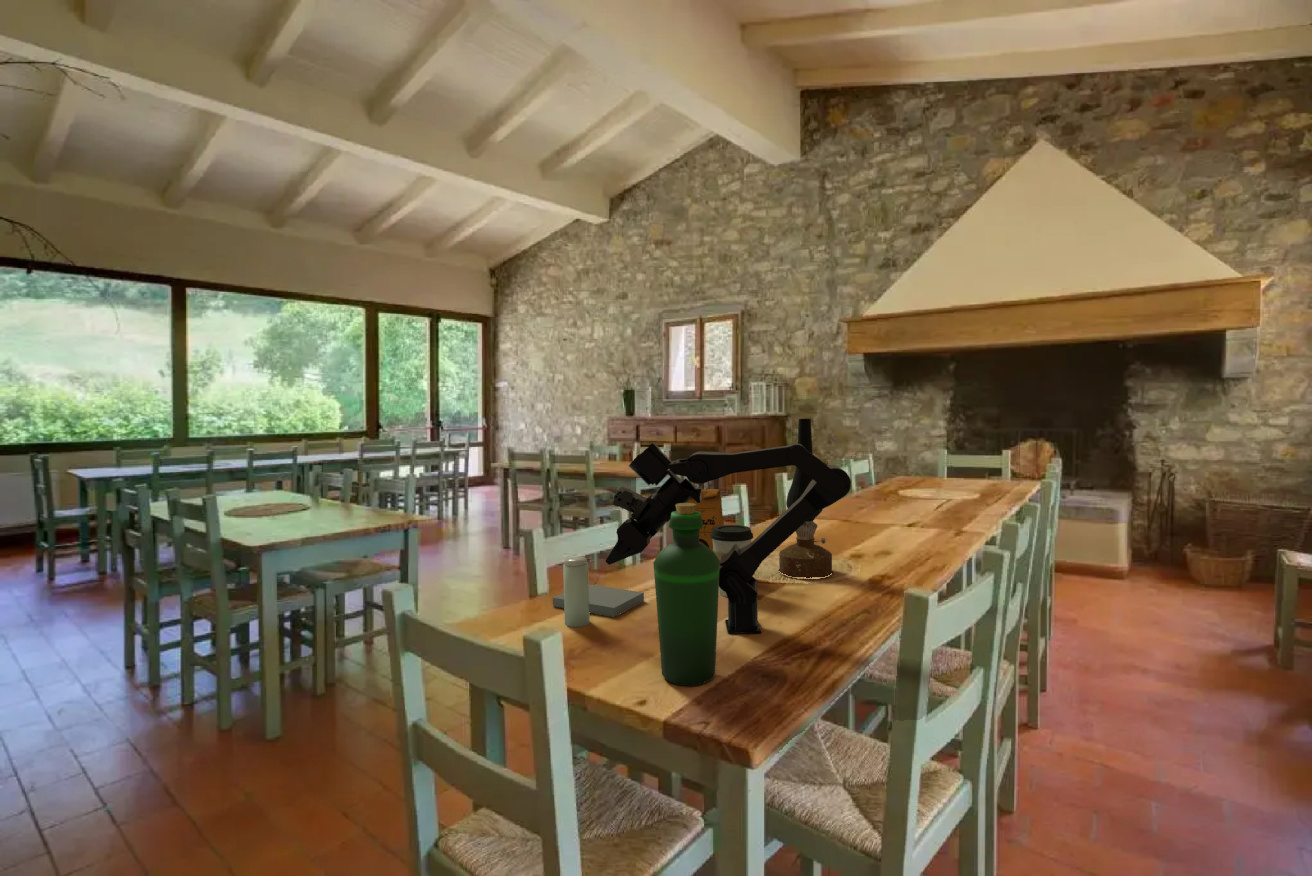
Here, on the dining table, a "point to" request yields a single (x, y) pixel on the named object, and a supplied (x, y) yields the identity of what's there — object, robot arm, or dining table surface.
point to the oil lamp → (804, 526)
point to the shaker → (576, 591)
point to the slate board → (607, 600)
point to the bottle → (687, 601)
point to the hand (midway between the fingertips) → (612, 557)
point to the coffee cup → (729, 540)
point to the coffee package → (709, 514)
